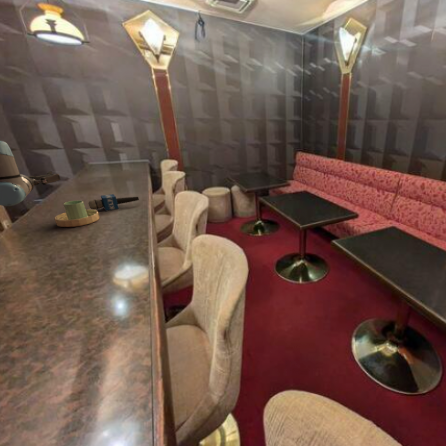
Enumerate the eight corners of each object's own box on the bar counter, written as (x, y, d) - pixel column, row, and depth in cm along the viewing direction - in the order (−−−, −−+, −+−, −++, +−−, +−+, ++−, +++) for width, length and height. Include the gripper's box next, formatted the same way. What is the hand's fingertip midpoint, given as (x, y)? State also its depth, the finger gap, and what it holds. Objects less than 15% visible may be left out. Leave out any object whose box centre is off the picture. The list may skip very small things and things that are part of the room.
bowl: (53, 230, 119) (51, 222, 117) (60, 219, 132) (57, 212, 130) (98, 223, 128) (96, 216, 126) (100, 214, 141) (98, 207, 139)
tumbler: (74, 224, 125) (68, 205, 121) (66, 221, 128) (59, 203, 124) (91, 219, 131) (86, 201, 128) (83, 217, 134) (78, 199, 131)
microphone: (138, 193, 156) (87, 200, 139) (141, 205, 158) (91, 213, 142) (135, 191, 161) (86, 197, 145) (138, 202, 164) (90, 209, 147)
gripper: (-35, 201, 80) (-14, 188, 96) (67, 191, 95) (71, 181, 110) (-46, 178, 78) (-22, 168, 93) (61, 172, 92) (66, 164, 107)
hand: (28, 175), depth 102 cm, fingers open, 13 cm apart
